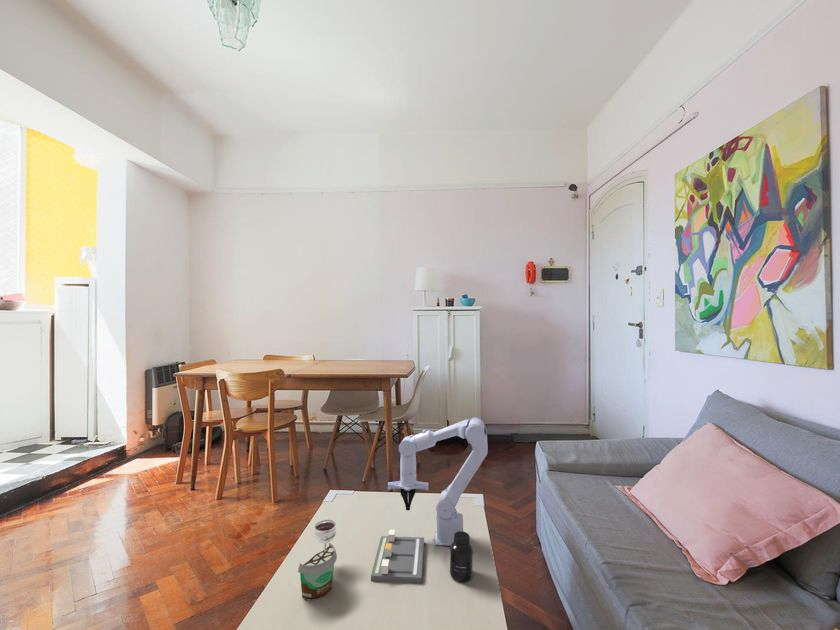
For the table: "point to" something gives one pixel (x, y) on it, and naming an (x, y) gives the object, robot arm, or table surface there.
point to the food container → (318, 574)
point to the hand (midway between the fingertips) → (408, 509)
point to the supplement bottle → (461, 557)
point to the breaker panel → (400, 560)
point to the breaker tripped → (388, 550)
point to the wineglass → (325, 531)
